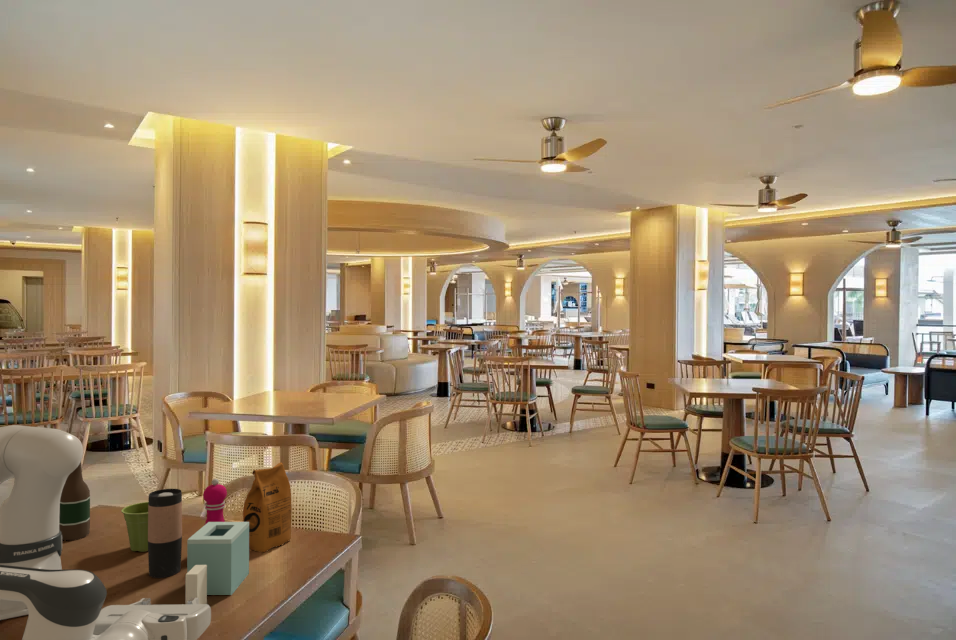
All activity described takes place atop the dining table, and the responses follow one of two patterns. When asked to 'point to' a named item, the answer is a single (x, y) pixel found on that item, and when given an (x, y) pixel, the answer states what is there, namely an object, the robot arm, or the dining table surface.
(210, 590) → the box
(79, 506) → the beer bottle
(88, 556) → the dining table surface
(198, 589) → the white rectangular block
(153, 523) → the travel mug
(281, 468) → the coffee package
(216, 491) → the pepper mill
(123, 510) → the plant pot
